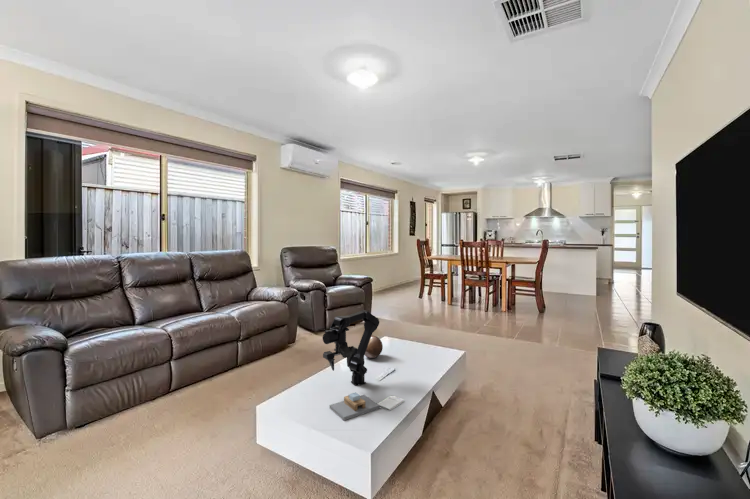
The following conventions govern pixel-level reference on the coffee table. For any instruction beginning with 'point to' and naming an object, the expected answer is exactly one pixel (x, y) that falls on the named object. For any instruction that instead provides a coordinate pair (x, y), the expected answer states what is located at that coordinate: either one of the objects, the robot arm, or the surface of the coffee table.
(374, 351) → the wooden sphere
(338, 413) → the slate dock
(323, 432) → the coffee table surface
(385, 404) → the external hard drive
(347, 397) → the board
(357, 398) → the pale blue square block
